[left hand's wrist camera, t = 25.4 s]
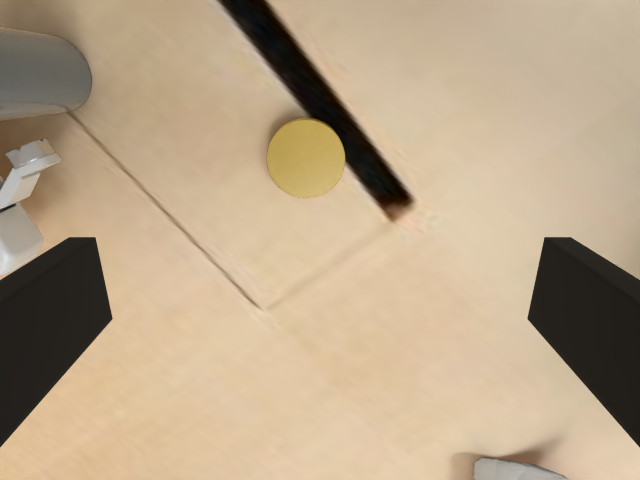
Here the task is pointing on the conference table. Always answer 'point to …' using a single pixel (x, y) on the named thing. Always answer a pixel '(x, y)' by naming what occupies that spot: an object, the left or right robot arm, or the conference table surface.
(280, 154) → the lid
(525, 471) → the fish
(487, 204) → the conference table surface
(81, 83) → the jar
